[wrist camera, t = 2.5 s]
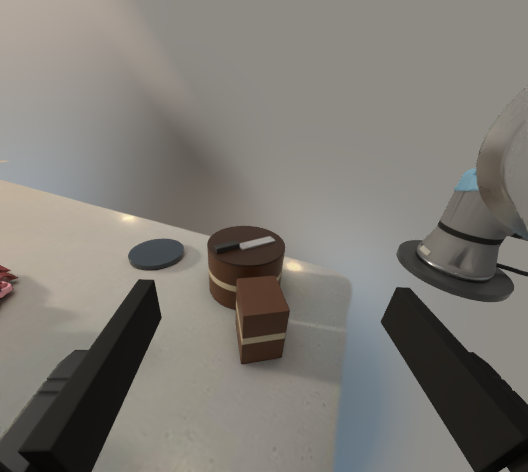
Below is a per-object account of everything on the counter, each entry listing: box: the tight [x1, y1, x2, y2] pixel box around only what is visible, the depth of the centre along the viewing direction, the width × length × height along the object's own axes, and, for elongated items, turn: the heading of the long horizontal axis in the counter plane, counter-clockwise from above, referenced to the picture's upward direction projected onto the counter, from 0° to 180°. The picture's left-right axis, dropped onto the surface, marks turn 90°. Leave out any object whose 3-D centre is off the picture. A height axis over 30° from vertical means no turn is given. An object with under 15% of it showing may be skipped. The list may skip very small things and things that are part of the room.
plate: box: [128, 239, 184, 270], centre depth 44 cm, size 10×10×1 cm
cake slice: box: [236, 276, 290, 364], centre depth 27 cm, size 6×5×8 cm
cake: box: [207, 226, 285, 310], centre depth 36 cm, size 12×12×9 cm
